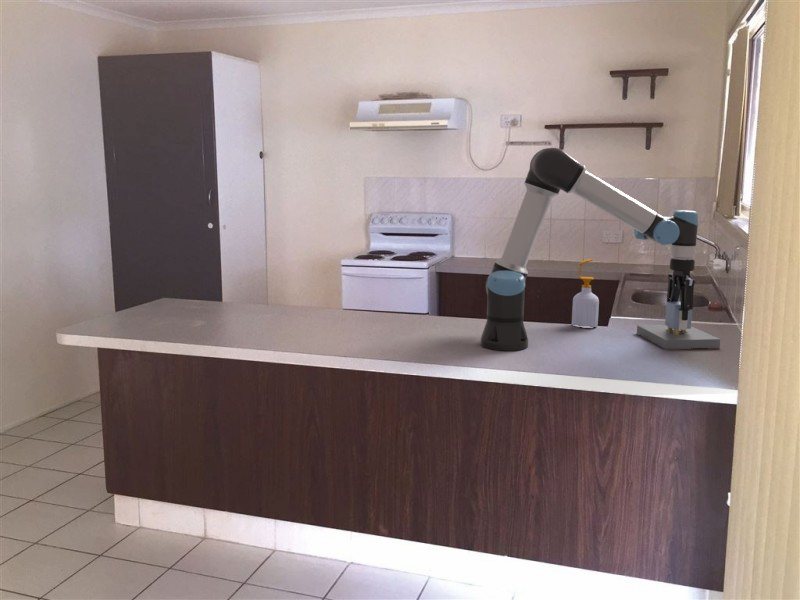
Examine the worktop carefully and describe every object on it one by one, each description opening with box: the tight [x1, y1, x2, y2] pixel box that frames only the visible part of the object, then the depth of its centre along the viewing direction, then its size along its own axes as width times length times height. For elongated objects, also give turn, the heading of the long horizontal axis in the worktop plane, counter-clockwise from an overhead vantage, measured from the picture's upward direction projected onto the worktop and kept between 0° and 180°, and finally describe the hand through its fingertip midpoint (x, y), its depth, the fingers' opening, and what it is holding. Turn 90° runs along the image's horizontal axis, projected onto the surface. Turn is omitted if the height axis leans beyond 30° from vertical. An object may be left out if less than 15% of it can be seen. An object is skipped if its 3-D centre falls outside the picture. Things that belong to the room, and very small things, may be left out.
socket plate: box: [636, 324, 721, 350], centre depth 244 cm, size 18×22×3 cm
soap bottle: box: [571, 258, 600, 328], centre depth 263 cm, size 9×9×25 cm
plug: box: [664, 301, 693, 334], centre depth 243 cm, size 6×6×10 cm
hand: (677, 327), depth 243 cm, fingers closed on plug, 6 cm apart
